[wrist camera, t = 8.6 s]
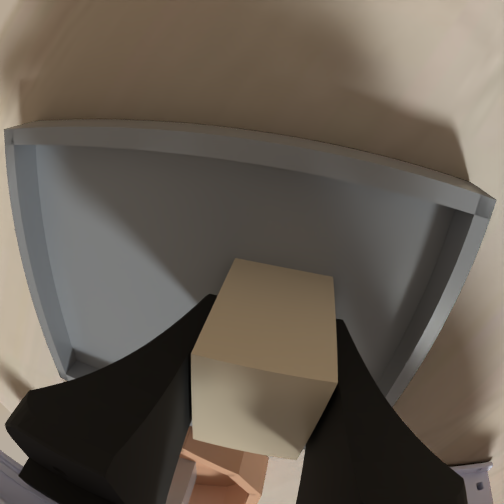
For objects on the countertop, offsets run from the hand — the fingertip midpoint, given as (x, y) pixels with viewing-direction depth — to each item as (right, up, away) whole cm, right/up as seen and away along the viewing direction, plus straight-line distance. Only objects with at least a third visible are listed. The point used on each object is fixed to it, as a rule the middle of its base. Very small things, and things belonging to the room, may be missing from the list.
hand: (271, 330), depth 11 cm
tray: (-2, +1, +2) cm, 3 cm away
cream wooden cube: (0, 0, +1) cm, 1 cm away
